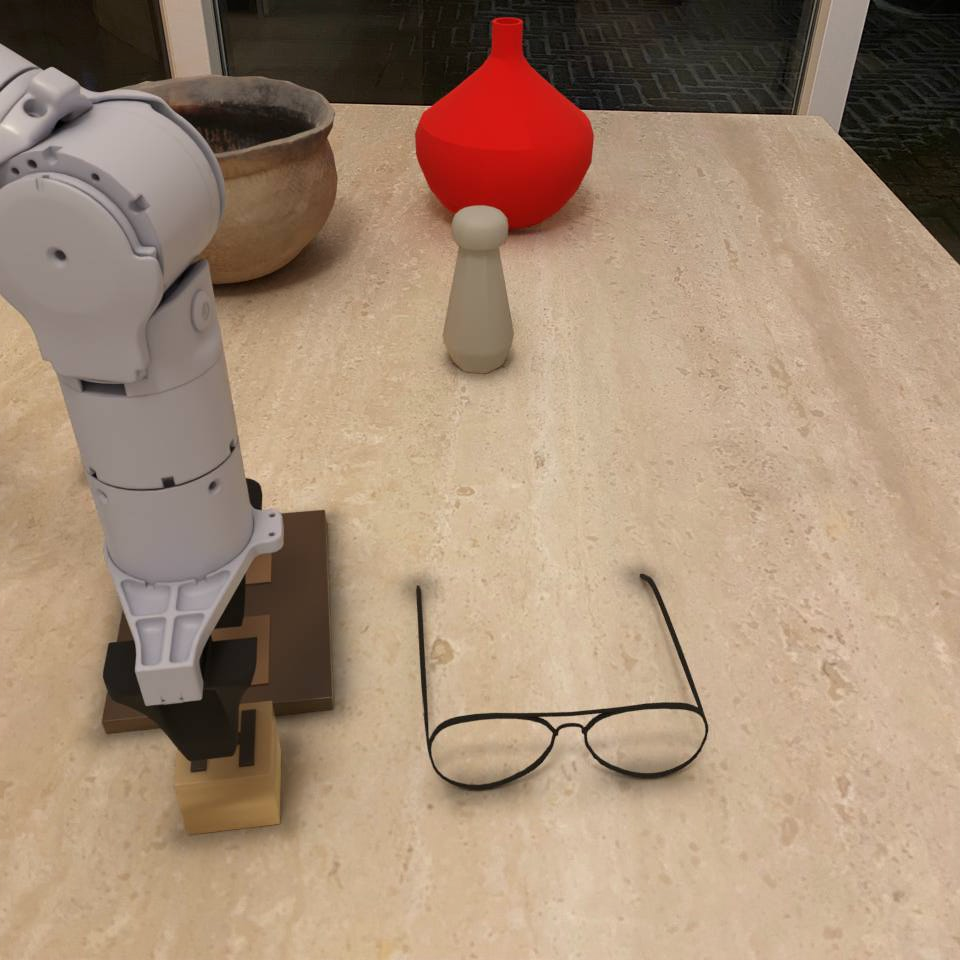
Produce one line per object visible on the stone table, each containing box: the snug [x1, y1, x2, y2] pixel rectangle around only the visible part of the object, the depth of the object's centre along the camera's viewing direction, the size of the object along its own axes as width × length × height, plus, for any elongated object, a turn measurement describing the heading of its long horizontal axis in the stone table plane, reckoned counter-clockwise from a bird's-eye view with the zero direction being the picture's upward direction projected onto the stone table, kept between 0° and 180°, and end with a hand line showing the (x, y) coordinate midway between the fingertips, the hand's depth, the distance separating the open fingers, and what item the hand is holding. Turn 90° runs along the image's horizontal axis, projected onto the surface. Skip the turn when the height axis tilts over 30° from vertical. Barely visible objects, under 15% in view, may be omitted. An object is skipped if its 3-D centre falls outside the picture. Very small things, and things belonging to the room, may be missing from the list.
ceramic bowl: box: [115, 73, 339, 285], centre depth 92 cm, size 22×22×15 cm
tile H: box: [172, 701, 282, 836], centre depth 49 cm, size 4×4×4 cm
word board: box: [101, 509, 334, 734], centre depth 59 cm, size 12×16×1 cm
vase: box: [414, 16, 595, 231], centre depth 101 cm, size 18×18×19 cm
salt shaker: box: [442, 205, 515, 375], centre depth 79 cm, size 6×6×13 cm
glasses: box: [415, 573, 709, 791], centre depth 56 cm, size 14×15×5 cm
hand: (216, 683), depth 46 cm, fingers open, 7 cm apart
